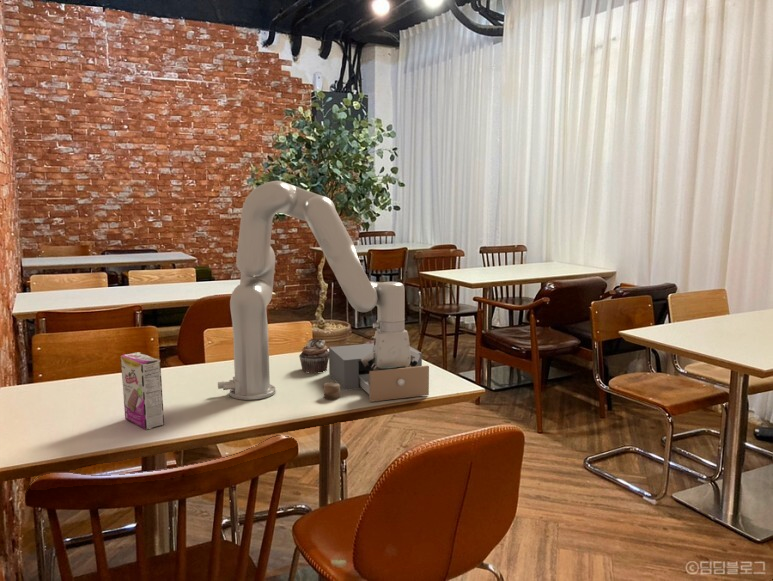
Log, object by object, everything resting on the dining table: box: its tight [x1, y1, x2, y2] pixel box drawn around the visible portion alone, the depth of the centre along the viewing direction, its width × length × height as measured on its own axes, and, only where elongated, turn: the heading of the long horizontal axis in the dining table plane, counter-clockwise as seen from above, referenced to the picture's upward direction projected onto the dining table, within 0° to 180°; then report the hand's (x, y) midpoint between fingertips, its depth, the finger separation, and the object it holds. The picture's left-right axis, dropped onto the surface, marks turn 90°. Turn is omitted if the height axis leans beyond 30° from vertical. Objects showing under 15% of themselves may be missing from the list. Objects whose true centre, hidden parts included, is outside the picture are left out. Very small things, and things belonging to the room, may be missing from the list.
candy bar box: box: [120, 351, 165, 430], centre depth 146 cm, size 11×5×16 cm, turn 48°
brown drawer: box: [359, 364, 430, 402], centre depth 171 cm, size 18×17×8 cm
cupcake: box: [298, 337, 329, 374], centre depth 193 cm, size 10×10×10 cm
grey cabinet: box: [328, 343, 423, 391], centre depth 184 cm, size 17×24×9 cm
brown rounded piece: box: [323, 382, 341, 401], centre depth 166 cm, size 4×4×4 cm
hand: (391, 385), depth 171 cm, fingers open, 9 cm apart
